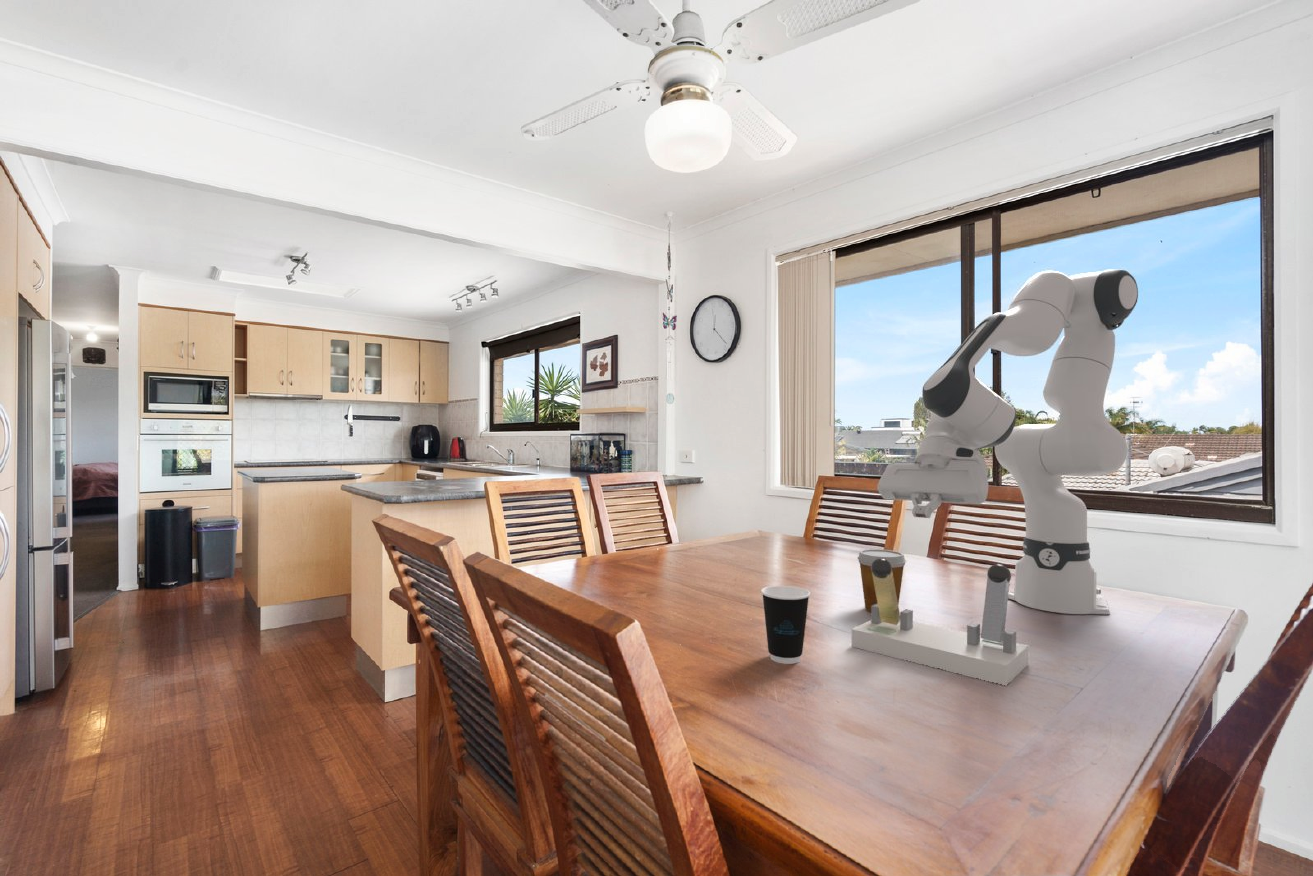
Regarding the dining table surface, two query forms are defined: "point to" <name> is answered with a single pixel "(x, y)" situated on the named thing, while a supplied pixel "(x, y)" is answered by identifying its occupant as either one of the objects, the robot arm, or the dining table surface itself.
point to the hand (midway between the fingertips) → (920, 515)
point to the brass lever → (885, 591)
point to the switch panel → (943, 647)
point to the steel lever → (996, 603)
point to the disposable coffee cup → (867, 579)
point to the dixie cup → (785, 621)
